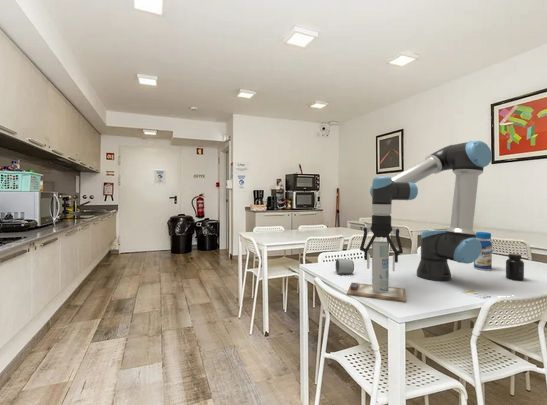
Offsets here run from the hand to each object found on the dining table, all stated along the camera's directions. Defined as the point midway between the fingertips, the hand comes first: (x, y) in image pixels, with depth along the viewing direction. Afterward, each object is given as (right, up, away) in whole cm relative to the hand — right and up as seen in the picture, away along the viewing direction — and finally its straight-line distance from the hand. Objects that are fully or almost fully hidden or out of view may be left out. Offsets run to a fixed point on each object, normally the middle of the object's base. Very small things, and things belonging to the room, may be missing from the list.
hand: (380, 269), depth 121 cm
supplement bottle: (+73, -10, +21) cm, 77 cm away
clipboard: (-1, -10, +1) cm, 10 cm away
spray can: (0, -9, 0) cm, 9 cm away
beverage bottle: (+71, -9, +41) cm, 82 cm away
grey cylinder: (-8, -9, +32) cm, 34 cm away
